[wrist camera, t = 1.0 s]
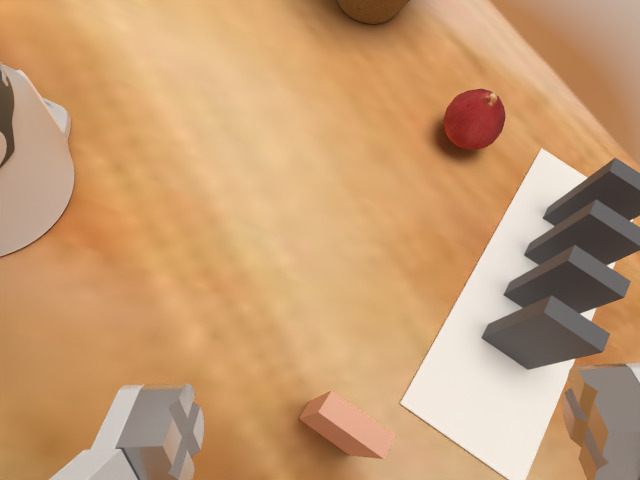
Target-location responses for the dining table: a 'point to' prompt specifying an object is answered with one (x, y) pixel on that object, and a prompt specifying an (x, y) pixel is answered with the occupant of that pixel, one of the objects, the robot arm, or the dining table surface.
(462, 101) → the onion
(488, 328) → the domino
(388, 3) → the plant pot
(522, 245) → the mat
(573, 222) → the domino
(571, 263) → the domino
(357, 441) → the terracotta domino
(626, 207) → the domino
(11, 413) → the dining table surface
